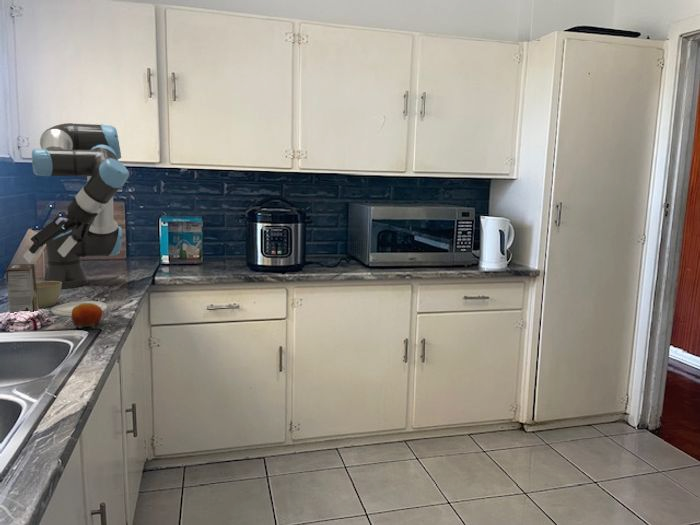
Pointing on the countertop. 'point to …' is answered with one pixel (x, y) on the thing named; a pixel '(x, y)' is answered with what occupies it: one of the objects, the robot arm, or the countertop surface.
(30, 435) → the countertop surface
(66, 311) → the plate
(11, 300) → the coffee box
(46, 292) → the flower pot
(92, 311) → the fruit
